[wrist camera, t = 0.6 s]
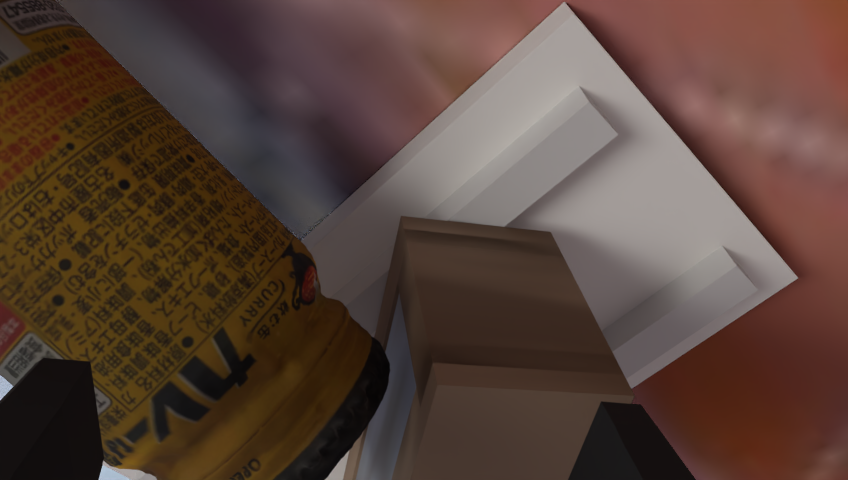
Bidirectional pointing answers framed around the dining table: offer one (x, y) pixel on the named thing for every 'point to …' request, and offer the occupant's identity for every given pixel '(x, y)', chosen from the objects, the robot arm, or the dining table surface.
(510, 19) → the dining table surface
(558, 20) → the notch ledge
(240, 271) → the condiment
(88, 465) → the robot arm
